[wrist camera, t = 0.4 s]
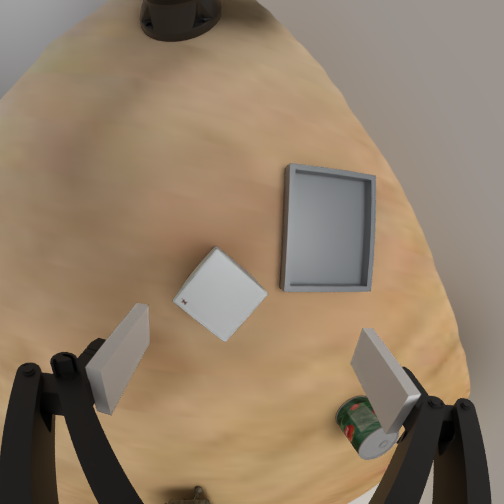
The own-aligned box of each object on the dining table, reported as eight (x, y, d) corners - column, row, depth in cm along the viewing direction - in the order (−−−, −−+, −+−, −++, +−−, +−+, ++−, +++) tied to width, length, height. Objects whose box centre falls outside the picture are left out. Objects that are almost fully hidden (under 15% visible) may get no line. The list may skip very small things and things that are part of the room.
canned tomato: (327, 420, 45) (349, 455, 34) (354, 390, 45) (382, 421, 34) (353, 431, 46) (376, 462, 35) (378, 402, 46) (406, 430, 35)
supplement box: (221, 313, 41) (223, 345, 29) (183, 281, 40) (169, 301, 28) (254, 276, 42) (270, 294, 29) (216, 243, 41) (216, 246, 28)
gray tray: (285, 168, 41) (290, 163, 38) (366, 178, 43) (375, 175, 40) (279, 287, 42) (284, 291, 39) (361, 288, 44) (370, 291, 41)
